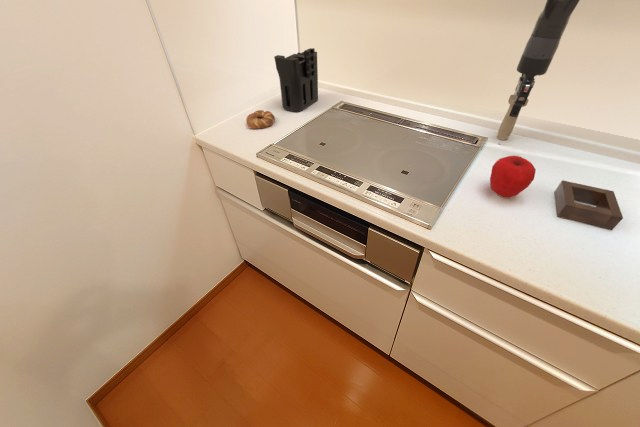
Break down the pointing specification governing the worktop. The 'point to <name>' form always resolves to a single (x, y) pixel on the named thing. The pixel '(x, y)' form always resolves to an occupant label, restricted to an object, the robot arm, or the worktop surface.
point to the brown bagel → (260, 119)
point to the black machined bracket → (298, 79)
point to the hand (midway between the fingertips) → (513, 111)
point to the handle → (508, 120)
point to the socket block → (598, 216)
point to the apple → (511, 176)
